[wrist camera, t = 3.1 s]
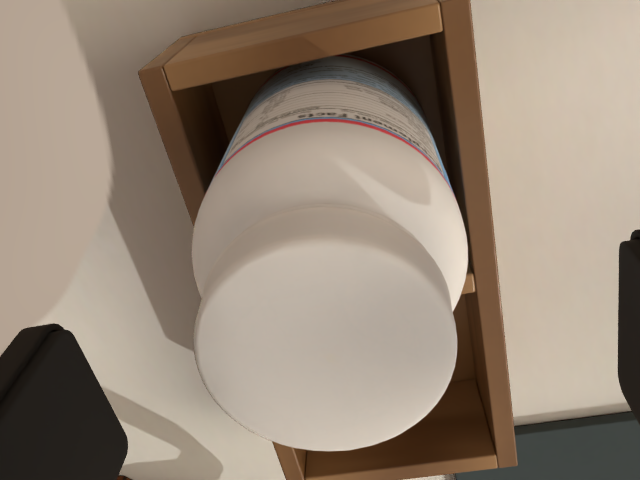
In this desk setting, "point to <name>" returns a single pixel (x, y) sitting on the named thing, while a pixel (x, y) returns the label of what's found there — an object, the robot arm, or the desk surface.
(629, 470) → the mat
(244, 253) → the pill bottle
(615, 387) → the desk surface
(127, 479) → the mug
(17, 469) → the robot arm
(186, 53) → the wooden box
